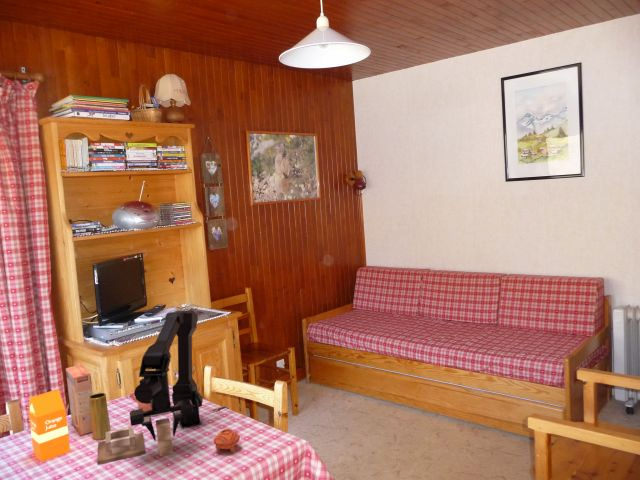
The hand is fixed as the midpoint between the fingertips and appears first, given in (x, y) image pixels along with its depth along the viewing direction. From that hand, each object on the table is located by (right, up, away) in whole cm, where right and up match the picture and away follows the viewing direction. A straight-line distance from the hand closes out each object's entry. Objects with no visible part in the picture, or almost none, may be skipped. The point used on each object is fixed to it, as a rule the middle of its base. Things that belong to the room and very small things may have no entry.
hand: (164, 438), depth 172 cm
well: (-15, -5, +4) cm, 16 cm away
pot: (+20, -4, -1) cm, 20 cm away
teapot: (-15, -2, +35) cm, 38 cm away
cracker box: (-35, -5, +23) cm, 42 cm away
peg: (0, -5, 0) cm, 5 cm away
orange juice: (-38, -7, +5) cm, 39 cm away
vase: (-26, -5, +15) cm, 30 cm away
